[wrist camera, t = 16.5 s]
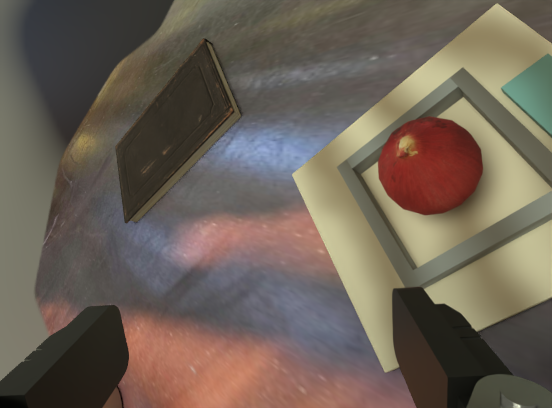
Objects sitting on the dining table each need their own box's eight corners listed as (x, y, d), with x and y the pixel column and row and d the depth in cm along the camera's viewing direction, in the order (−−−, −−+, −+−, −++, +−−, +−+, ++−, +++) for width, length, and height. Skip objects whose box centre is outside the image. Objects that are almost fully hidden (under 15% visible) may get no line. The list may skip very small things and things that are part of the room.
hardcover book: (246, 118, 42) (232, 110, 41) (139, 226, 52) (124, 222, 50) (214, 45, 51) (202, 35, 49) (127, 148, 60) (114, 143, 59)
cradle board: (390, 371, 25) (375, 375, 23) (298, 177, 34) (282, 169, 33) (754, 205, 17) (776, 191, 15) (499, 12, 26) (493, -12, 24)
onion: (390, 172, 27) (338, 130, 22) (465, 128, 25) (428, 66, 19) (424, 239, 25) (374, 213, 19) (512, 198, 22) (487, 152, 16)
